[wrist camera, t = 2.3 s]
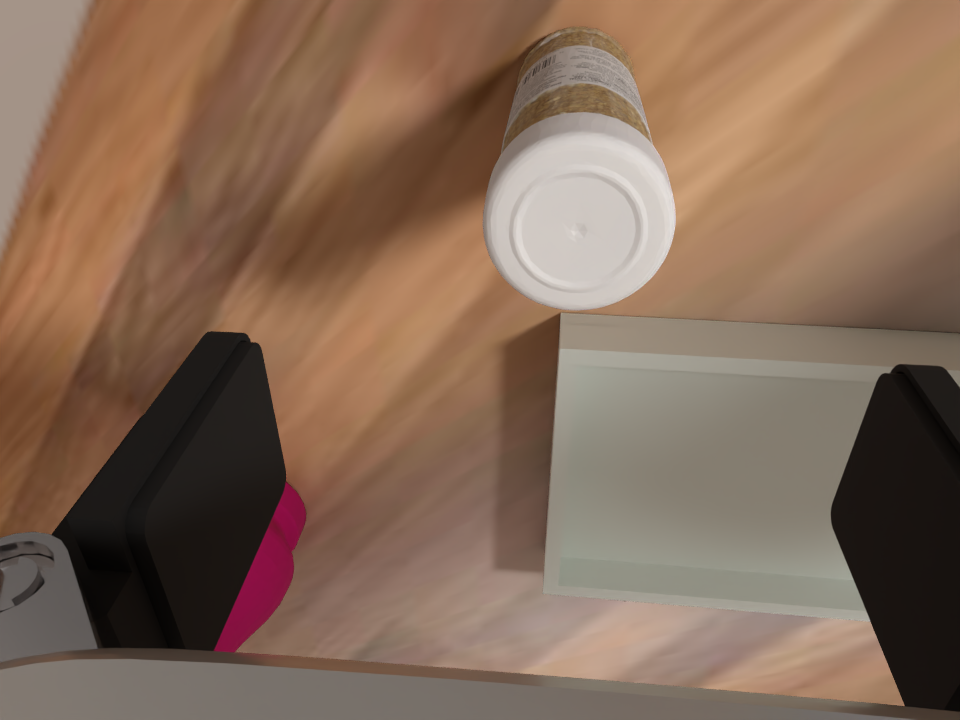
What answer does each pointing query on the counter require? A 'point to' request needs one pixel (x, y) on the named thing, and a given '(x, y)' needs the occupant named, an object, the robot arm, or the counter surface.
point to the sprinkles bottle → (578, 179)
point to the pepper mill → (266, 573)
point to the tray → (712, 458)
